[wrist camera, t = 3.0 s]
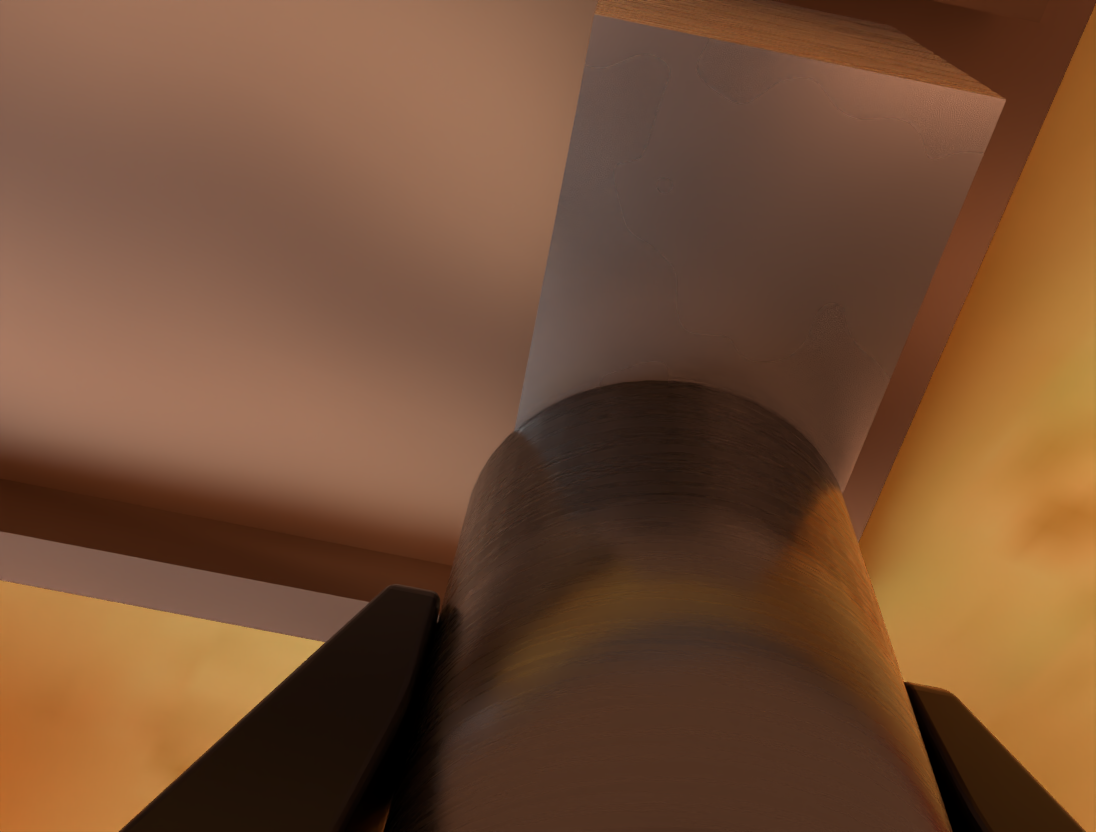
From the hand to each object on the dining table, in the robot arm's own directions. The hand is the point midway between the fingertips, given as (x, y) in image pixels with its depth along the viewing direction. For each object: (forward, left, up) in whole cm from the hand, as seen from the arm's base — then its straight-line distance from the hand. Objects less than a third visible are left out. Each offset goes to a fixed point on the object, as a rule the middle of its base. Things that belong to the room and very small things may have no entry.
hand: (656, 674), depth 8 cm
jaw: (0, 0, -5) cm, 5 cm away
